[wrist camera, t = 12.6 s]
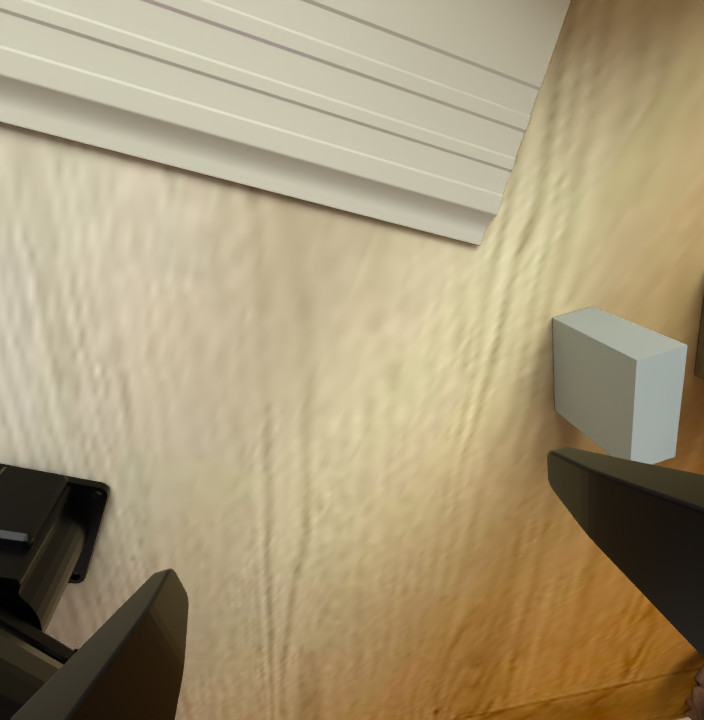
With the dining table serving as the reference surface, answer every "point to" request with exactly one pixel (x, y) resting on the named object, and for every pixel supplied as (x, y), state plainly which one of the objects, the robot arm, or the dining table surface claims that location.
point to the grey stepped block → (700, 350)
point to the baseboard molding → (295, 94)
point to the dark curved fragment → (697, 698)
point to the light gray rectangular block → (619, 383)
